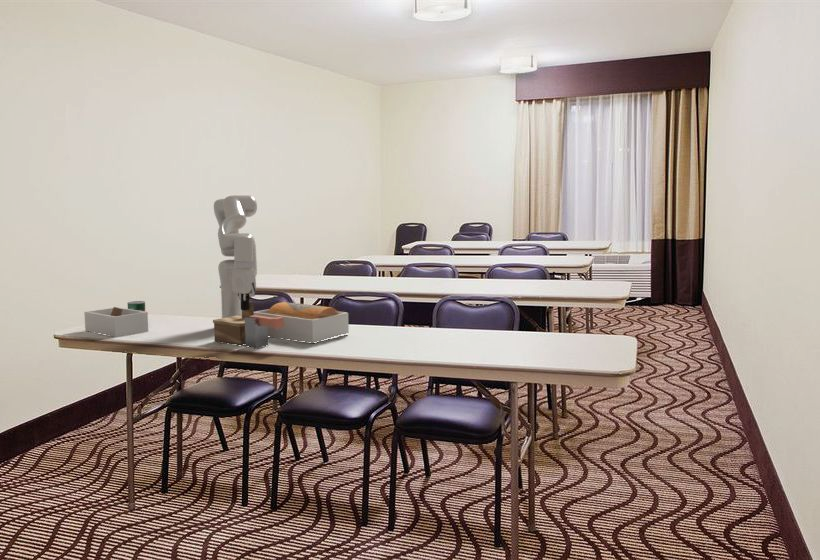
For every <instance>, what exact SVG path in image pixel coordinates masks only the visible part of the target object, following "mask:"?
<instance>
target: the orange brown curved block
mask: <svg viewBox="0 0 820 560" xmlns="http://www.w3.org/2000/svg"><path fill="white" fill-rule="evenodd" d="M339 312H340V311H338V310H337V309H336V308H334V307H331V306H330V307H329V306H322V305H316V304H315V305H314V304H306V303H299V302H298V303H296V302H288V301H287V302H286V301H285V302H284V301H283V302H282V301H281V302H278V303H274V304H273V305H271V307H270V308H269V311H268V314H274V315H281V316H288V317H296V318H303V319H310V320H314V319H318V318H323V317H328V316H332V315H337V314H340V313H339Z"/></svg>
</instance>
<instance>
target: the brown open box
mask: <svg viewBox="0 0 820 560" xmlns="http://www.w3.org/2000/svg"><path fill="white" fill-rule="evenodd" d="M213 329H214V330H213V332H214V337H213V338H214V342H215V341H216V342H217V343H221V342H223V343H222V344H227V343H229V344H228V345H232V344H237V345H236V346H238V345H243V344H246V343H245V326H242V327H237V326H231V325H224V324H218V323H213ZM216 342H215V343H216ZM243 346H244V345H243Z"/></svg>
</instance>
